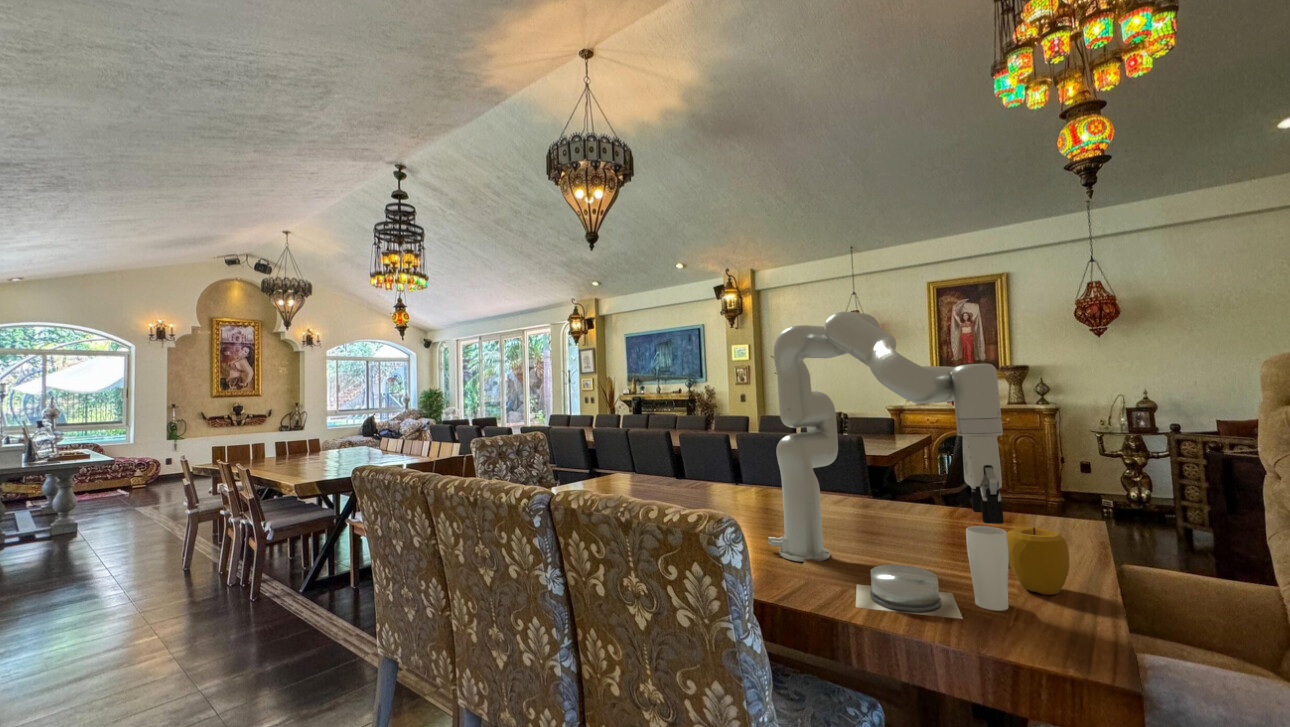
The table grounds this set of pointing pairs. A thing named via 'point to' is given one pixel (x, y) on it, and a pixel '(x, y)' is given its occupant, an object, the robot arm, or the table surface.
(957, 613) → the board
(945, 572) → the table surface
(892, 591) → the grey short round cylinder
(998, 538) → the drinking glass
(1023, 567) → the apple
